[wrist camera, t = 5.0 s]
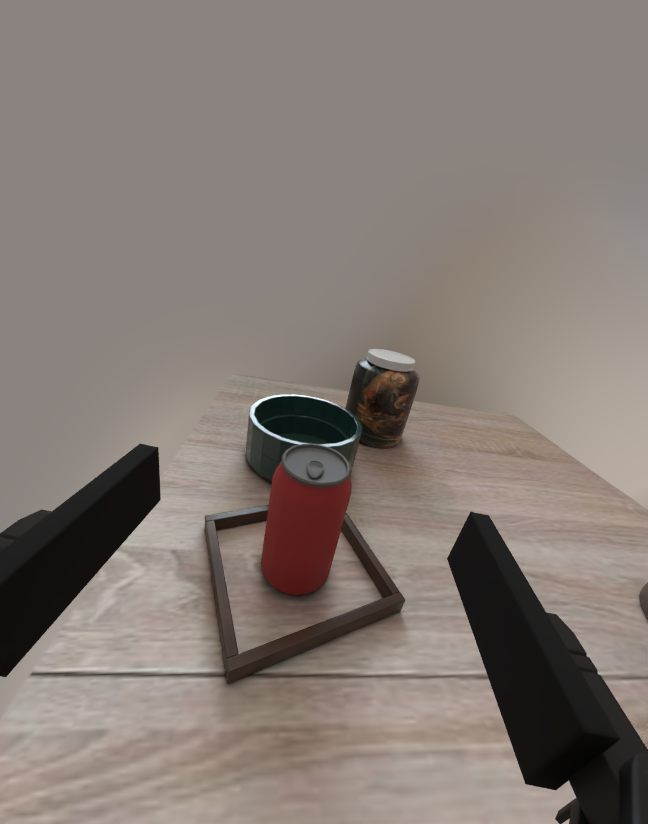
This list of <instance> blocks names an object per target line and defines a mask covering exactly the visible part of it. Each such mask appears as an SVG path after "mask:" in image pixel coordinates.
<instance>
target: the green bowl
mask: <svg viewBox="0 0 648 824" xmlns="http://www.w3.org/2000/svg"><path fill="white" fill-rule="evenodd" d="M361 432H362V425H361V423H360V421H359V419H358V418H357V417H356V416H355V415H354V414H353V413H351V412H350V411H349V410H347V409H345V408H343V407H342V406H340V405H338V404H335V403H332V402H330V401H327V400H324V399H319V398H315V397H311V396H303V395H276V396H269V397H266V398H263V399H261V400H258V401H257V402H256V403H255V404H253V405H252V406H251V408H250V413H249V421H248V432H247V443H246V457H247V460H248V462H249V465H250V466H251V467H252V468H253V469H254V470H255V471H256V472H257V473H258V474H259V475H260V476H262V477H264V478H266V479H268V480H270V481H271V482H272V479H273V475H274V472H275V470H276V468H277V467H278V465H279V464H280V462H281V461H282V455H283V454H284V452H285V451H286V450H287V449H289V448H291V447H292V446H296V445H299V444H310V443H311V444H319V445H323V446H327V447H330V448H332V449H334V450H336V451H338V452H339V453H340V454H342V455H343V456H344V457H345V458H346V459H347V461H348V462H349V464H350V468H351V471H352V467H353V463H354V460H355V456H356V452H357V448H358V444H359V441H360V437H361ZM351 471H350V473H351Z"/></svg>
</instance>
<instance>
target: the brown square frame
mask: <svg viewBox="0 0 648 824" xmlns="http://www.w3.org/2000/svg"><path fill="white" fill-rule="evenodd" d="M268 508H269V505H265V506H260V507H254V508H248V509H242V510H236V511H231V512H225V513H219V514H213V515H208V516H205V532H206V539H207V546H208V553H209V560H210V567H211V574H212V581H213V588H214V595H215V602H216V609H217V616H218V623H219V630H220V637H221V644H222V651H223V658H224V665H225V670H226V671H225V672H226V679H227V684H229V683H231V682H234V681H236V680H238V679H241V678H243V677H245V676H248V675H250V674H252V673H255V672H257V671H259V670H262V669H264V668H267V667H269V666H271V665H274V664H276V663H278V662H281V661H283V660H285V659H288V658H290V657H293V656H295V655H297V654H300V653H302V652H304V651H307V650H309V649H311V648H314V647H316V646H318V645H321V644H323V643H326V642H328V641H330V640H333V639H335V638H337V637H340V636H342V635H344V634H347V633H349V632H352V631H354V630H356V629H359V628H361V627H363V626H366V625H368V624H370V623H373V622H375V621H377V620H380V619H382V618H385V617H387V616H389V615H392V614H394V613H396V612H399V611H401V609H402V606H403V604H404V602H405V599H404V597H403V596H402V594H401V593H400V592H399V590H398V589H397V587H396V586H395V584H394V583H393V581H392V580H391V578H390V577H389V575H388V574H387V572H386V571H385V569H384V568H383V566H382V565H381V563H380V562H379V560H378V559H377V557H376V556H375V554H374V553H373V552H372V550H371V549H370V547H369V546H368V544H367V543H366V541H365V540H364V538H363V537H362V535H361V534H360V532H359V531H358V529H357V528H356V526H355V525H354V523H353V522H352V520H351V519H350V517H349V516H348V515H347V513H346V514H345V517H344V521H343V525H342V528H341V529H342V531H343V532H344V534H345V535H346V537H347V539H348V540H349V542H350V544H351V545H352V547H353V548H354V550H355V552H356V553H357V555H358V556H359V558H360V560H361V561H362V563H363V564H364V566H365V568H366V569H367V571H368V573H369V574H370V576H371V577H372V579H373V581H374V582H375V584H376V585H377V587H378V589H379V590H380V592H381V593H382V595H383V597H384V598H383V599H380V600H378V601H375V602H373V603H370V604H367V605H365V606H362V607H360V608H357V609H355V610H352V611H349V612H347V613H344V614H342V615H339V616H336V617H334V618H331V619H329V620H326V621H323V622H321V623H318V624H316V625H313V626H311V627H308V628H305V629H303V630H300V631H298V632H295V633H292V634H290V635H287V636H285V637H282V638H280V639H277V640H274V641H272V642H269V643H267V644H264V645H261V646H259V647H256V648H254V649H251V650H249V651H246V652H243V653H241V654H238V649H237V643H236V638H235V632H234V627H233V621H232V616H231V610H230V605H229V599H228V594H227V588H226V583H225V577H224V571H223V566H222V560H221V555H220V549H219V544H218V538H217V533H216V530H220V529H225V528H230V527H235V526H240V525H245V524H250V523H255V522H260V521H265V520H267V515H268Z"/></svg>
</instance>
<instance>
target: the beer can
mask: <svg viewBox="0 0 648 824" xmlns="http://www.w3.org/2000/svg"><path fill="white" fill-rule="evenodd" d="M350 471H351V468H350V464H349V462H348V461H347V459H346V458H345V457H344V456H343V455H342V454H340V453H339V452H338V451H336V450H334V449H332V448H330V447H327V446H323V445H319V444H311V443H310V444H299V445H296V446H292V447H291V448H289V449H287V450H286V451H285V452H284V454H283V455H282V461H281V462H280V464H279V465H278V467H277V468H276V470H275V472H274V475H273V479H272V486H271V494H270V501H269V508H268V515H267V523H266V530H265V537H264V544H263V552H262V559H261V566H262V570H263V574H264V575H265V577H266V578H267V580H268V581H269V583H270V584H271V585H272V586H274V587H275V588H276V589H278V590H279V591H282V592H284V593H287V594H291V595H303V594H307V593H311V592H313V591H315V590H316V589H318V588H319V587H320V586H322V585H323V583H324V582H325V581H326V579H327V578H328V575H329V572H330V568H331V564H332V561H333V557H334V554H335V550H336V546H337V543H338V539H339V535H340V532H341V528H342V525H343V521H344V517H345V514H346V510H347V506H348V503H349V499H350V495H351V480H350V475H349V474H350Z"/></svg>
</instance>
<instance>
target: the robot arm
mask: <svg viewBox="0 0 648 824" xmlns="http://www.w3.org/2000/svg"><path fill="white" fill-rule="evenodd" d="M158 455H159V453H158V447H153V446H148V445H143V444H139V445H138V446H137V447H135V448H134V449H133V450H131V451H130V452H129V453H128V454H126V455H125V456H124V457H122V458H121V459H120V460H118V461H117V462H116V463H114V464H113V465H112V466H111V467H110V468H108V469H107V470H105V471H104V472H103V473H101V474H100V475H99V476H98V477H97V478H95V479H94V480H93V481H91V482H90V483H89V484H87V485H86V486H85V487H83V488H82V489H81V490H79V491H78V492H77V493H76V494H74V495H73V496H72V497H70V498H69V499H68V500H66V501H65V502H64V503H63V504H61V505H60V506H59V507H57V508H56V509H55V510H53V511H52V512H51V511H46V510H40V511H37V512H35V513H33V514H31V515H29V516H27V517H25V518H22V519H20V520H18V521H17V522H15V523H14V524H13V525H11V526H10V527H9V528H7V529H6V530H4V531H3V532H2V533H0V676H2V677H6V676H7V675H8V674H9V673H10V672H11V671H12V670H13V668H14V667H15V666H16V665H17V664H18V663H19V662H20V660H21V659H22V658H23V657H24V656H25V655H26V653H27V652H28V651H29V650H30V649H31V648H32V646H33V645H34V644H35V643H36V642H37V641H38V640H39V639H40V637H41V636H42V635H43V634H44V633H45V632H46V631H47V629H48V628H49V627H50V626H51V625H52V624H53V623H54V621H55V620H56V619H57V618H58V617H59V616H60V615H61V613H62V612H63V611H64V610H65V609H66V608H67V606H68V605H69V604H70V603H71V602H72V601H73V599H74V598H75V597H76V596H77V595H78V593H80V591H81V590H82V589H83V588H84V587H85V586H86V585H87V583H88V582H89V581H90V580H91V579H92V578H93V577H94V576H95V574H96V573H97V572H98V571H99V570H100V569H101V567H102V566H103V565H104V564H105V563H106V562H107V561H108V559H109V558H110V557H111V556H112V555H113V554H114V553H115V551H116V550H117V549H118V548H119V547H120V546H121V545H122V543H123V542H124V541H125V540H126V539H127V538H128V536H129V535H130V534H131V533H132V532H133V531H134V530H135V528H136V527H137V526H138V525H139V524H140V523H141V522H142V520H143V519H144V518H145V517H146V516H147V515H148V514H149V512H150V511H151V510H152V509H153V508H154V507H155V506H156V504H157V503H158V502H159V501H160V500H161V499H160V476H159V456H158ZM447 560H448V562H449V565H450V568H451V571H452V574H453V577H454V580H455V583H456V585H457V588H458V591H459V594H460V597H461V600H462V603H463V606H464V608H465V611H466V614H467V617H468V620H469V623H470V626H471V629H472V631H473V634H474V637H475V640H476V643H477V646H478V649H479V652H480V654H481V657H482V660H483V663H484V666H485V669H486V672H487V675H488V677H489V680H490V683H491V686H492V689H493V692H494V695H495V698H496V700H497V703H498V706H499V709H500V712H501V715H502V718H503V721H504V723H505V726H506V729H507V732H508V735H509V738H510V741H511V744H512V746H513V749H514V752H515V755H516V758H517V761H518V764H519V767H520V769H521V772H522V775H523V778H524V781H525V784H528V785H533V786H538V787H543V788H547V789H552V790H557V789H558V788H559V787H561V786H562V785H563V784H564V783H566V782H567V781H568V780H569V781H570V784H571V786H572V788H573V791H574V793H575V795H576V797H577V798H576V799H574V800H573V801H571V802H570V803H569V804H567V805H566V806H565V807H563V808H562V809H560V810H559V811H558V813H557V816H556V818H555V819H556V820H557V821H558V823H559V824H562V823H563V822H565V821H566V820H568V819H569V818H570V821H569V824H648V749H647V747H646V746H645V745H644V743H643V742H642V740H641V738H640V737H639V735H638V734H637V732H636V731H635V729H634V727H633V726H632V724H631V723H630V721H629V720H628V718H627V716H626V715H625V713H624V712H623V710H622V709H621V707H620V705H619V704H618V702H617V701H616V699H615V697H614V696H613V694H612V693H611V691H610V690H609V688H608V686H607V685H606V683H605V682H604V680H603V679H602V677H601V675H598V673H597V669H596V667H595V666H594V664H593V663H592V661H591V660H590V658H589V657H587V656H586V654H587V653H586V652H585V650H584V649H583V647H582V645H581V644H580V642H579V641H578V639H577V638H576V636H575V634H574V633H573V632H572V631H571V630H570V629H569V628H568V626H567V625H566V624H565V623H564V622H563V621H562V620H561V619H560V618H559V617H558V616H557V615H556V614H551V613H546V612H545V610H544V608H543V607H542V605H541V603H540V602H539V600H538V598H537V596H536V595H535V593H534V591H533V590H532V588H531V586H530V585H529V583H528V581H527V580H526V578H525V576H524V574H523V573H522V571H521V569H520V568H519V566H518V564H517V563H516V561H515V559H514V557H513V556H512V554H511V552H510V551H509V549H508V547H507V546H506V544H505V542H504V541H503V539H502V537H501V535H500V534H499V532H498V530H497V529H496V527H495V525H494V524H493V522H492V520H491V518H490V517H489V516H488V515H483V514H479V513H474V512H470V514H469V516H468V518H467V520H466V522H465V524H464V526H463V528H462V530H461V532H460V534H459V536H458V538H457V540H456V542H455V544H454V546H453V548H452V550H451V552H450V554H449V556H448V558H447ZM640 601H641V605H642V608H643V610H644V612H645V614H646V616H647V618H648V583H647V584H646V585H645V586H644V587H643V588H642V590H641V592H640Z"/></svg>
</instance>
